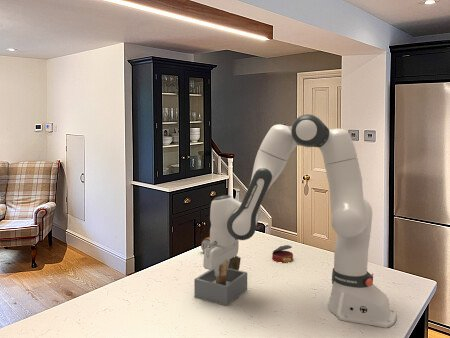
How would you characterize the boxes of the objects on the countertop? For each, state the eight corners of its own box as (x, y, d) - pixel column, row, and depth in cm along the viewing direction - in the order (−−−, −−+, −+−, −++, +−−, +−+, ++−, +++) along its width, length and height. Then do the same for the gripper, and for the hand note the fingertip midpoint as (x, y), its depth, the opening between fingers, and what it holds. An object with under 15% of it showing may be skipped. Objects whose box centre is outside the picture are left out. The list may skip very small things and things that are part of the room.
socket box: (247, 289, 153) (247, 272, 152) (226, 305, 139) (226, 287, 138) (216, 282, 160) (216, 265, 159) (194, 296, 146) (194, 279, 145)
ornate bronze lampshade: (233, 280, 162) (233, 262, 161) (219, 276, 166) (219, 258, 165) (243, 275, 167) (244, 257, 167) (230, 271, 172) (230, 253, 171)
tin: (229, 257, 190) (229, 240, 189) (225, 259, 187) (225, 242, 186) (203, 251, 197) (203, 235, 196) (200, 253, 195) (200, 237, 194)
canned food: (275, 271, 184) (265, 253, 184) (278, 262, 193) (269, 244, 193) (296, 263, 180) (286, 244, 179) (299, 254, 189) (289, 236, 189)
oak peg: (228, 287, 150) (228, 257, 149) (222, 291, 147) (223, 261, 145) (219, 285, 152) (219, 255, 151) (213, 289, 149) (214, 259, 147)
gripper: (214, 247, 137) (213, 284, 138) (241, 233, 154) (241, 266, 156) (199, 244, 140) (199, 281, 141) (227, 230, 157) (227, 263, 159)
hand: (221, 273), depth 149 cm, fingers closed on oak peg, 4 cm apart
